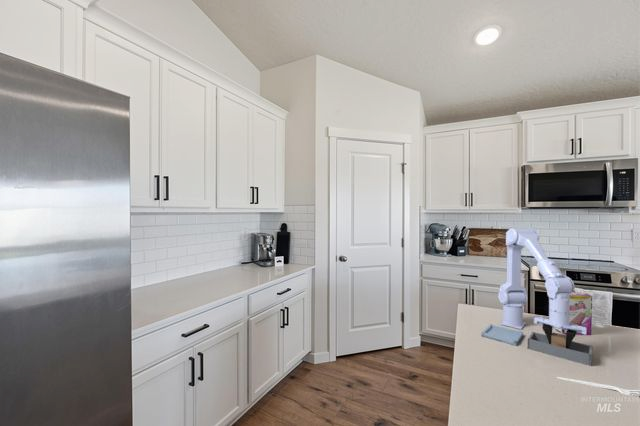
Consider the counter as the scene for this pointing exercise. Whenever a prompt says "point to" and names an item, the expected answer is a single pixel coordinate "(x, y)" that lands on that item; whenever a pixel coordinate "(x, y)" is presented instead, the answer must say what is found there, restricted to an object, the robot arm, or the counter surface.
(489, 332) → the light blue tray
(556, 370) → the counter surface
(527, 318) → the counter surface
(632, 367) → the counter surface
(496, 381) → the counter surface
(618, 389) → the fork
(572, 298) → the candy bar box
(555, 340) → the walnut block
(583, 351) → the gray rectangular bin
